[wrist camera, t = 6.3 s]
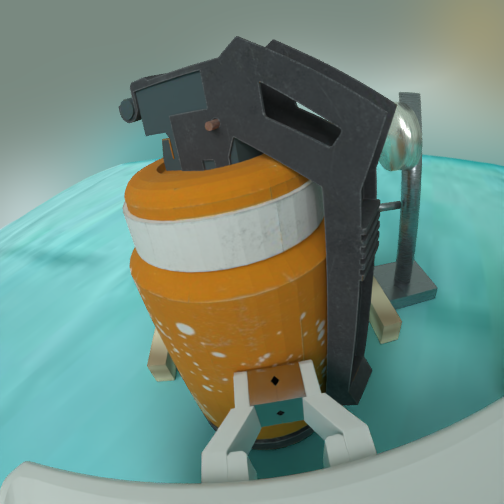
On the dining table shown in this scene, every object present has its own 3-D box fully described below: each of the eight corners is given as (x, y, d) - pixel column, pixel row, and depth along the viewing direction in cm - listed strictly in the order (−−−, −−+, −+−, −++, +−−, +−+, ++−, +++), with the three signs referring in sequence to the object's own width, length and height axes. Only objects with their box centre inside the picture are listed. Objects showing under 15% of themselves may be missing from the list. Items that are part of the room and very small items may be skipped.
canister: (249, 334, 25) (189, 70, 15) (380, 374, 19) (399, 40, 9) (180, 416, 19) (37, 108, 9) (328, 487, 13) (329, -24, 3)
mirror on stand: (411, 267, 28) (418, 91, 19) (435, 298, 24) (456, 97, 15) (358, 279, 28) (353, 91, 20) (377, 313, 24) (383, 95, 15)
